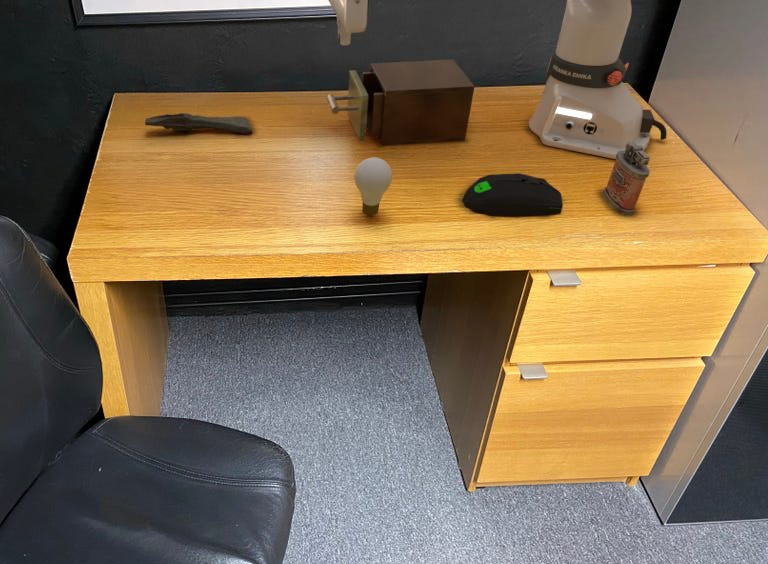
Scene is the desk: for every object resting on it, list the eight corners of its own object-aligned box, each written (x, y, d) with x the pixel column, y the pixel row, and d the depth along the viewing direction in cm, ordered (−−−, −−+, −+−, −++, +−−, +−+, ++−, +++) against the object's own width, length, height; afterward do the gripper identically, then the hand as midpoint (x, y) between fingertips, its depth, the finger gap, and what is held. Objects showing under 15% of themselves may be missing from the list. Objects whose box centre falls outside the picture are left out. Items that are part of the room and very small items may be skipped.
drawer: (333, 143, 132) (335, 97, 126) (323, 115, 141) (324, 71, 135) (438, 136, 133) (444, 91, 127) (421, 110, 142) (427, 66, 136)
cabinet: (380, 146, 133) (385, 91, 125) (366, 116, 142) (370, 63, 135) (464, 140, 134) (474, 86, 127) (444, 111, 144) (453, 59, 137)
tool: (247, 124, 143) (248, 109, 141) (253, 138, 137) (254, 122, 135) (144, 123, 138) (143, 107, 137) (145, 137, 132) (145, 121, 131)
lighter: (598, 191, 120) (617, 136, 113) (617, 190, 120) (637, 135, 113) (618, 215, 114) (639, 159, 107) (638, 214, 114) (660, 158, 107)
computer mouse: (454, 184, 122) (457, 163, 119) (545, 180, 122) (551, 159, 120) (471, 219, 113) (475, 197, 111) (569, 214, 114) (576, 193, 111)
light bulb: (364, 228, 111) (369, 172, 105) (345, 211, 115) (348, 155, 108) (394, 219, 113) (401, 163, 107) (375, 203, 117) (380, 147, 110)
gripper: (380, -28, 108) (373, 62, 118) (355, -59, 123) (350, 23, 133) (340, -26, 108) (336, 64, 117) (320, -58, 123) (318, 25, 132)
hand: (343, 42), depth 125 cm, fingers closed
